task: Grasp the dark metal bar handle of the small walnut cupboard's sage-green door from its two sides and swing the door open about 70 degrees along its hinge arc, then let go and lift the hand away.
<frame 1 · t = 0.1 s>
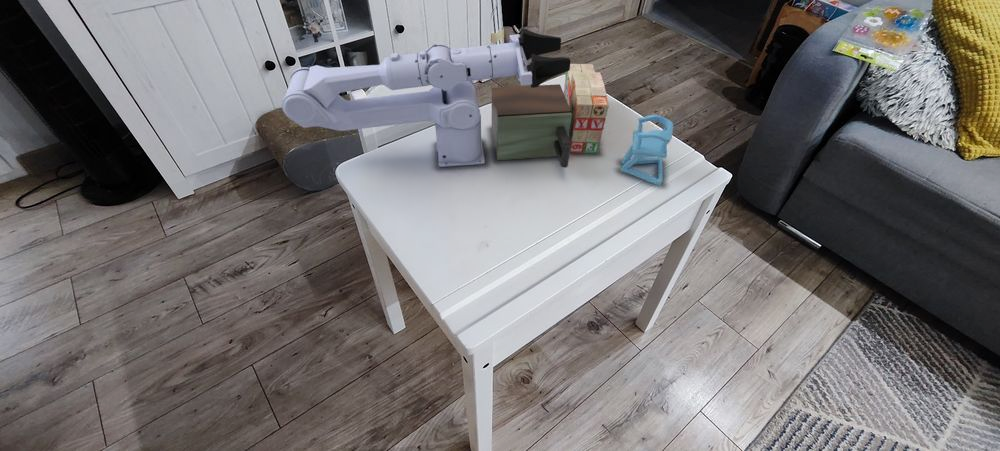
hand: (565, 53, 83), 22 cm above the table, tool horizontal, fingers open, 7 cm apart
chair: (640, 170, 95), on the table
stack of blocks: (578, 125, 105), on the table
cupboard door: (536, 147, 91), point 5 cm above the table, hinge at 0.0°
cupboard: (526, 141, 100), on the table
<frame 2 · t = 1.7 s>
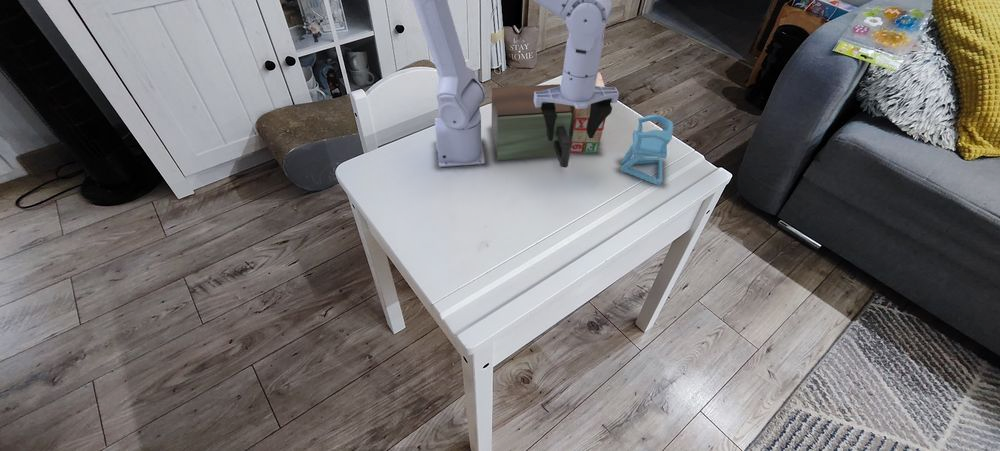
hand: (569, 136, 85), 10 cm above the table, tool pointing down, fingers open, 7 cm apart
nothing on the table moved.
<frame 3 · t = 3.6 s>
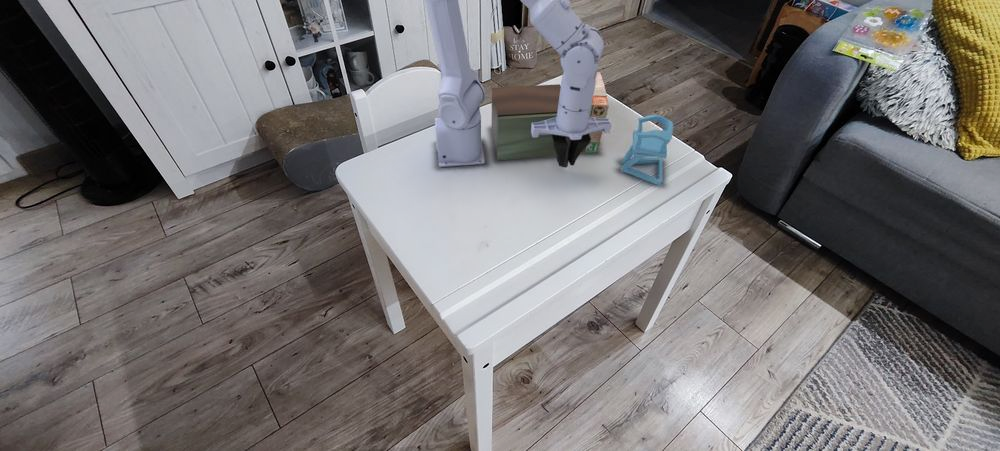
hand: (565, 162, 90), 4 cm above the table, tool pointing down, fingers closed on cupboard door, 2 cm apart
cupboard door: (536, 147, 91), point 5 cm above the table, hinge at 0.0°, touching gripper
everything else where it was.
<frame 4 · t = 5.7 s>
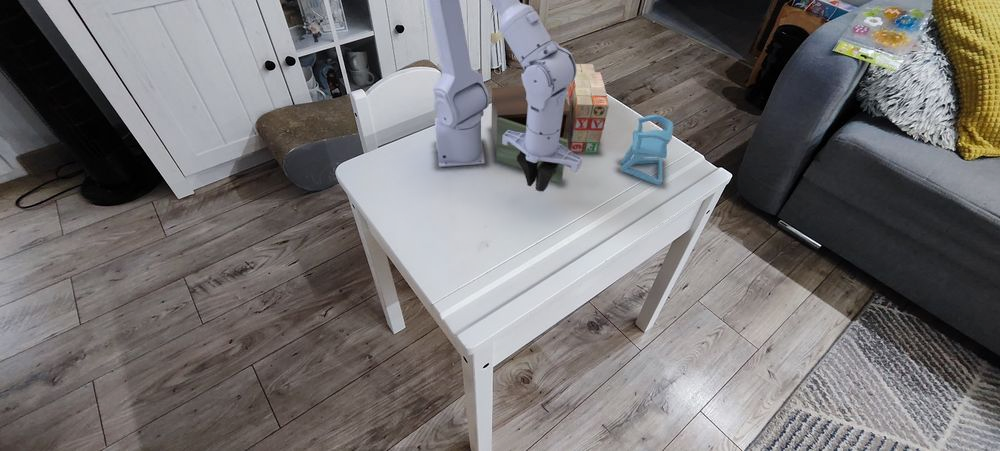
hand: (537, 185, 85), 4 cm above the table, tool pointing down, fingers closed
cupboard door: (522, 160, 88), point 5 cm above the table, hinge at 35.9°, touching gripper
everything else where it was.
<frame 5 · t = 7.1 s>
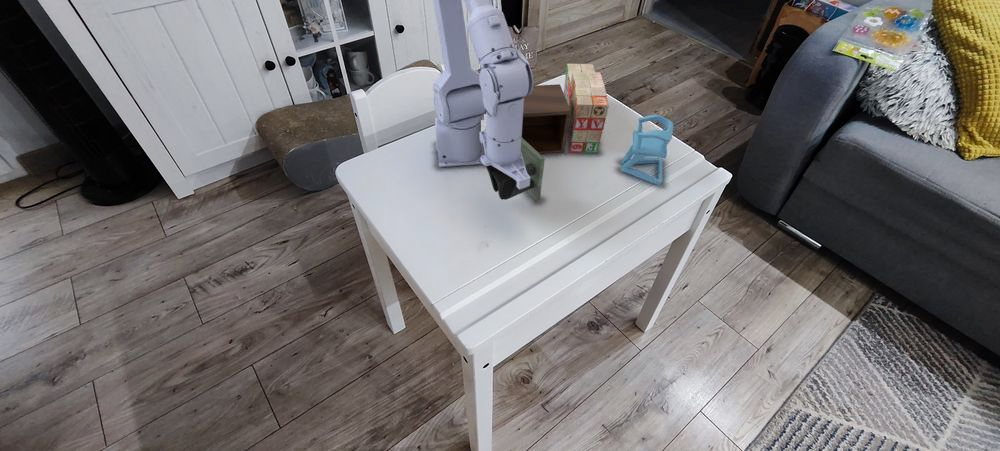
hand: (502, 193, 84), 4 cm above the table, tool pointing down, fingers closed, pressing on cupboard door
cupboard door: (503, 165, 87), point 5 cm above the table, hinge at 64.3°, touching gripper
everything else where it was.
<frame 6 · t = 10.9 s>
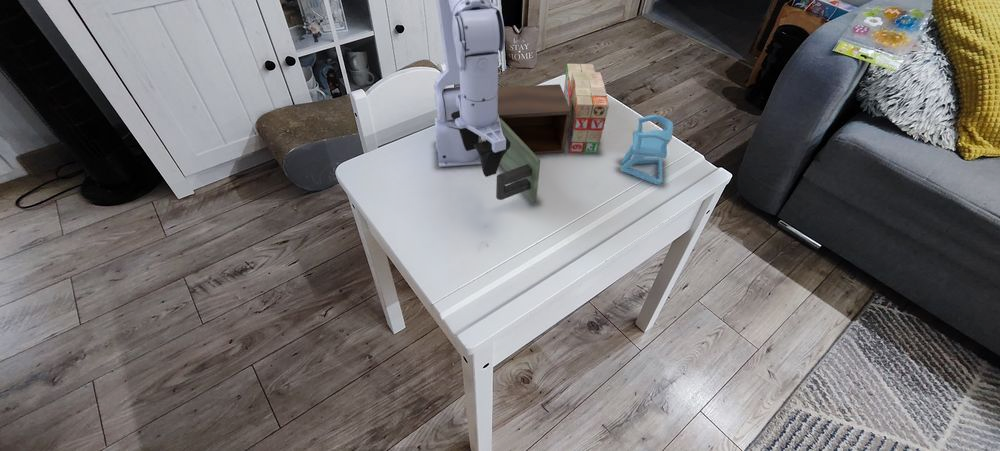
hand: (480, 161, 79), 10 cm above the table, tool pointing down, fingers open, 7 cm apart
cupboard door: (500, 165, 87), point 5 cm above the table, hinge at 67.8°
everything else where it was.
at the end: cupboard door at +68° (first picture: +0°); the gripper is holding nothing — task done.
